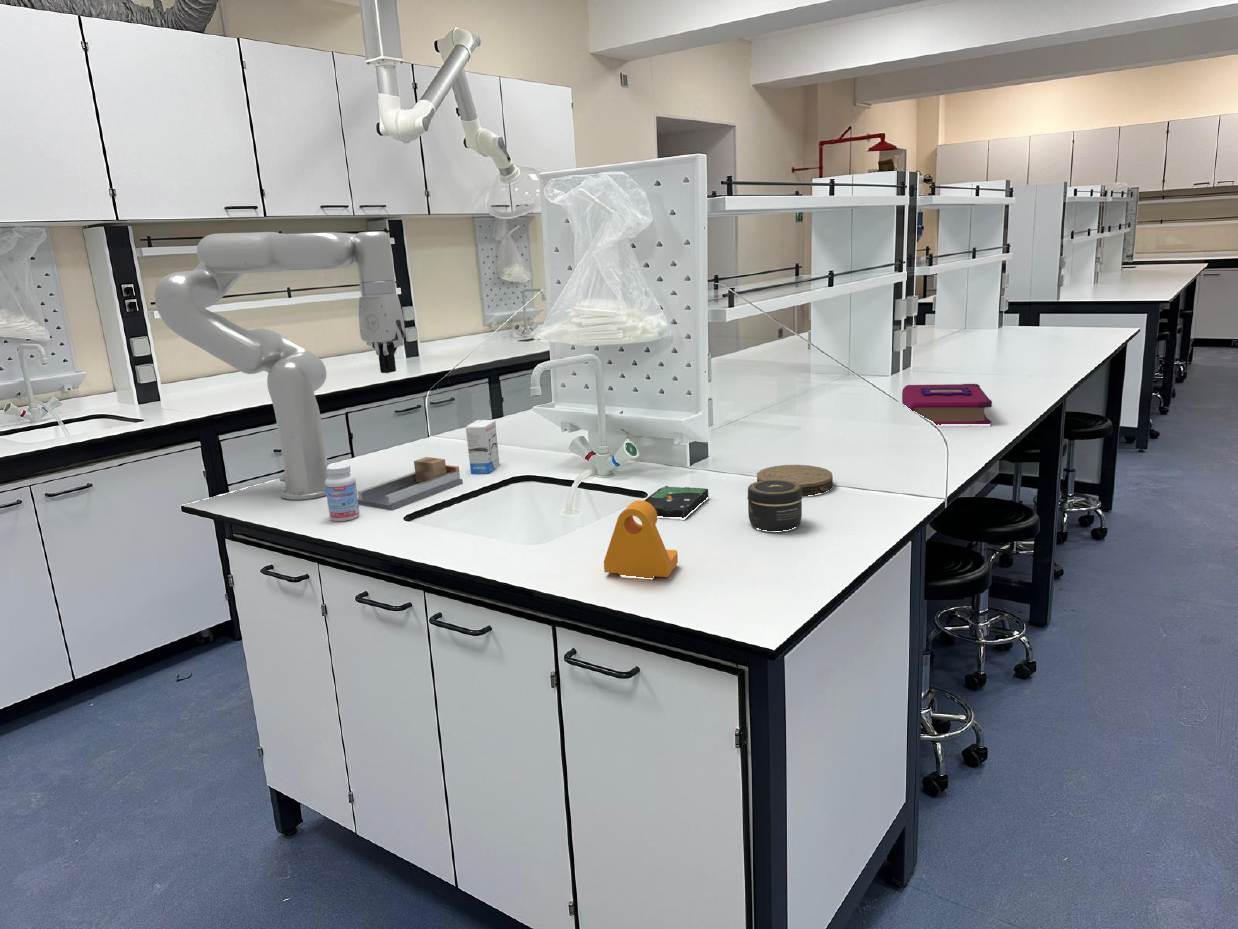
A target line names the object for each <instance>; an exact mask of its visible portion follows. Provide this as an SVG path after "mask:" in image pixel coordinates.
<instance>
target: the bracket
mask: <svg viewBox="0 0 1238 929" xmlns="http://www.w3.org/2000/svg"><path fill="white" fill-rule="evenodd" d="M634 517H636V518H637V519H639V520H640V522H641V524H639V523H638V522H637V521H636V520H635V519H634ZM657 522H658V518H657V512H656V510H655V508H654V507H653V506H652V505H651V504H650V503H648V502H646V501H644V500H642V499H639V500H634V501H633V502H631V503H630V504H629V505H627V507H626V508H625V509H624V510H623V511H622V512H621V513H620V514H619V515H618V517H617V520H616V523H615V526H614V528H613V533H612V536H611V537H610V541H609V545H608V547H607V551H606V552H605V553H606V554H605V556H604V560H603V569H604V571H603V572H604V573H609V574H618V575H626V576H636V577H644V578H653V576H655V577H663V578H668V577H669V576H670V575H671V573H672V572H673V571H674V569H675V568H676V566H677V564H678V563H679V561H678V560H679V559H678V551H677V550H675V549H668V548H667V549H666V547H665V544H664V541H663V539H662V537H661V534H660V533H659V530H658V527H657V525H656V524H657Z"/></svg>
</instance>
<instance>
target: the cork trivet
mask: <svg viewBox="0 0 1238 929" xmlns="http://www.w3.org/2000/svg"><path fill="white" fill-rule="evenodd" d="M833 479H834V478H833V473H832V471H830V470H828V468H827V469H826V468H824V467H820V466H814V465H809V464H808V465H806V464H805V465H804V464H783V465H775V466H770V467H766V468H763V469H761V470H759V471H758V472H756V482H758V481H763V480H787V481H792V482H795V483H798V484H799V485H800V486H801V488H802V496H808V495H815V494H818V493H824V492H826V491H828V490H830V489H831V488H832V489H833V487H834V486H833V484H834V483H833ZM832 486H833V487H832ZM832 489H831V490H832ZM831 490H830V491H831ZM826 493H827V492H826ZM824 494H825V493H824Z"/></svg>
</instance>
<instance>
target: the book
mask: <svg viewBox="0 0 1238 929" xmlns="http://www.w3.org/2000/svg"><path fill="white" fill-rule="evenodd" d="M901 394H902V395H901V400H902V401H901V402H902V403H901V404H902V405H903V404H904V405H906V406H907V407H908V408H910V409H911V410H912V411H915V412H917V413H918V414H920V415H922V416H924V418H927V419H929V420H931V421H933V422H934V423H935V424H936V425H938V424H939V425H941V424H990V423H991V424H992V421H991V419H989V418H988V417H987V416H986V414H985V408H986V409H987V408H992V407H993V401H992V400H991V399H990V398H989V397H988V396H987V394H986V393H985V392H984V391H983V389H982V388H981V386H980V385H979V383H960V384H959V383H956V384H954V383H953V384H950V383H949V384H947V383H946V384H907V385H906V386H904V387H903V389H902V392H901Z"/></svg>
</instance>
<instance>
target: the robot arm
mask: <svg viewBox="0 0 1238 929" xmlns="http://www.w3.org/2000/svg"><path fill="white" fill-rule="evenodd" d="M392 254H393V252H392V246H391V238H390V235H389V234H388V233H387V232H386V231H381V230H380V231H376V230H375V231H363V232H362V231H361V232H358V233H348V232H330V231H329V232H312V233H311V232H310V233H308V232H307V233H304V232H303V233H281V232H280V233H279V232H276V231H262V232H261V231H260V232H258V231H257V232H230V233H229V232H228V233H226V232H224V233H223V232H222V233H211V234H209V235H206V236H204V237H202V238H201V239H200V241H199V242H198V244H197V247H196V256H197V259H198V261H199V264H198V265H197V266H196V267H195V268H194V269H193V270H182V271H175V272H172V273H168V274H167V275H165V276H163V277H162V278H160V280H159V281H158V283H157V284H156V286H155V291H154V302H155V307H156V310H157V313H158V314H159V315H158V316H159V317H160V318H161V320H162V321H163V322H164V324H165V325H166V327H168V328H169V329H170V330H171V331H172V332H174V334H176V335H178V336H179V337H181V338H182V339H184V340H185V341H187V342H189V343H191V344H193V345H195V346H197V347H198V348H200V349H202V350H203V351H204V352H207V353H208V354H210V355H211V356H213V357H215V358H217V359H219V360H220V361H222V362H224V363H226V364H227V365H229V366H231V367H232V368H234V369H236V370H237V371H239V372H241V373H242V374H247V375H255V374H259V373H262V372H264V371H265V372H266V373H268V374H267V380H266V382H267V383H266V384H267V389H268V394H269V396H270V399H271V403H272V407H273V409H274V410H273V411H274V414H275V420H276V426H277V431H278V437H279V445H280V448H281V450H280V451H281V458H282V463H283V469H284V470H283V471H284V473H283V475H280V476H279V481H280V482H283V483H284V484H285V487H284V488H282V489H281V491H280V496H281V498H283V499H286V500H292V501H293V500H295V501H296V500H297V501H298V500H301V501H302V500H310V499H316V498H321V497H324V496H327V494H326V486H325V481H326V479H327V478H328V477H329V475H328V473H327V467H328V466H329V464H328V457H327V451H326V443H325V436H324V430H323V424H322V417H321V412H320V408H319V404H318V401H317V398H316V394H315V392H316V391H317V390H319V389H320V388H321V387H323V385H324V383H325V382H326V379H327V369H326V366H325V364H324V362H323V360H321V358H320V357H319V356H317V355H316V354H315V353H313V352H311V351H310V350H308V349H306V348H304V347H303V346H301V345H299V344H298V343H295V342H294V341H292V340H291V339H289V338H287V337H286V336H283V335H282V334H280V333H278V332H276V331H274V330H270V329H267V328H254V329H246V328H243V327H242V326H240V325H237V324H236V323H234V322H232V321H230V320H229V319H228V318H226V317H224V316H222V315H220V314H217V313H215V312H213V311H210V310H209V309H207V308H210V307H213V306H214V305H215V304H217V303H218V302H220V301H221V299H223V298H224V296H225V295H226V294H227V293H228V292H229V291H230V290H231V288H232V287H233V286H234V285H235V284H236V283H237V282H238V281H239V279H241V277H242V276H243V275H244V274H248V273H251V274H253V273H281V272H285V271H286V272H287V271H305V270H307V271H309V270H336V269H344V268H349V267H350V268H351V267H355V266H357V273H358V279H359V290H360V297H359V299H358V322H359V323H358V324H359V333H360V334H359V335H360V339H361V340H362V341H364V342H366V345H367V346H368V347H371V348H373V350H374V351H375V354H376V356H378V363H379V370H380V373H381V374H389V373H395V372H397V367H396V359H395V355H396V354H397V349H398V348H399V347H403V346H404V345H405V343H404V340H403V339H404V338H405V336H406V329H405V328H406V327H405V321H404V314H403V310H402V306H401V303H400V298H399V295H398V294H397V289H396V288H397V287H396V279H395V278H396V277H395V271H394V263H393V256H392Z"/></svg>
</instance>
